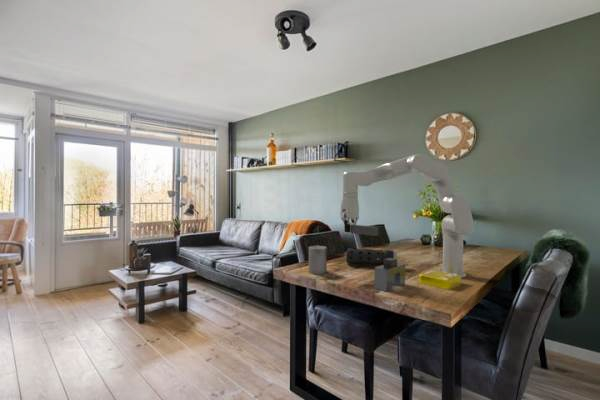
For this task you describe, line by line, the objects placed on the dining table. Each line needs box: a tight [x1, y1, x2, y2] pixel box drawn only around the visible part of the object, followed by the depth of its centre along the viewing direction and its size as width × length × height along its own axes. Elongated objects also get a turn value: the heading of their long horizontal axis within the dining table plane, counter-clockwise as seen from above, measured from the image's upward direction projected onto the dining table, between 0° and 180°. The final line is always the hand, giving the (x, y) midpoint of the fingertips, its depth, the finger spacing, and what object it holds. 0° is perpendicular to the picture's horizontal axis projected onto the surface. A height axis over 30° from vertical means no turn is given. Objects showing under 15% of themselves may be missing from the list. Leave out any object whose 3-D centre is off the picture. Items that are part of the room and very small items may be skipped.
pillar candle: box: [308, 244, 328, 275], centre depth 166 cm, size 10×10×15 cm
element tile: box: [418, 269, 463, 290], centre depth 147 cm, size 15×15×5 cm
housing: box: [374, 258, 406, 292], centre depth 141 cm, size 16×6×12 cm, turn 134°
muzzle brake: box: [346, 247, 398, 267], centre depth 180 cm, size 10×28×10 cm, turn 73°
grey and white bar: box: [343, 221, 379, 237], centre depth 153 cm, size 4×18×5 cm, turn 44°
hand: (350, 231), depth 157 cm, fingers closed on grey and white bar, 4 cm apart
